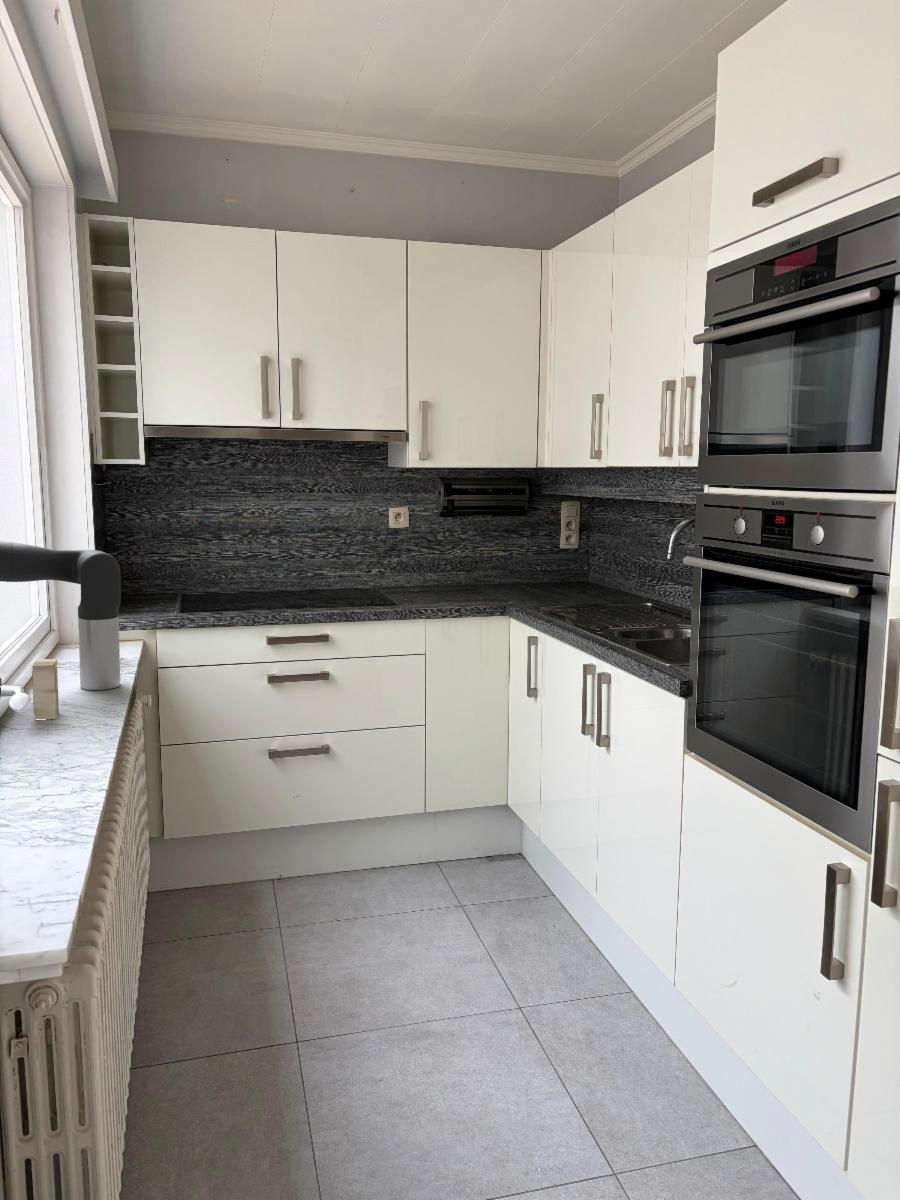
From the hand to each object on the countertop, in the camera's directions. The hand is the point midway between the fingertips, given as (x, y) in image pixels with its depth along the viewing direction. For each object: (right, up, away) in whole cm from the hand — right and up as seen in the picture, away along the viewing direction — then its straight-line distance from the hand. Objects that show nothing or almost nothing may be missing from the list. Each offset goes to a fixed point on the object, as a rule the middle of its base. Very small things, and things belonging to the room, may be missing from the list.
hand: (0, 683), depth 195 cm
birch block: (+8, -8, +3) cm, 12 cm away
